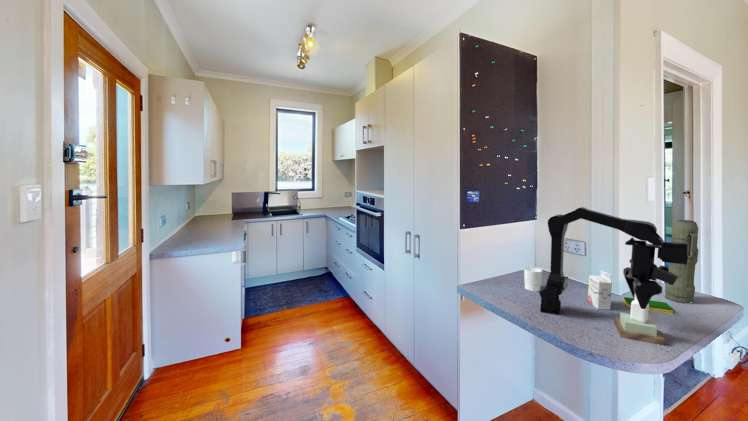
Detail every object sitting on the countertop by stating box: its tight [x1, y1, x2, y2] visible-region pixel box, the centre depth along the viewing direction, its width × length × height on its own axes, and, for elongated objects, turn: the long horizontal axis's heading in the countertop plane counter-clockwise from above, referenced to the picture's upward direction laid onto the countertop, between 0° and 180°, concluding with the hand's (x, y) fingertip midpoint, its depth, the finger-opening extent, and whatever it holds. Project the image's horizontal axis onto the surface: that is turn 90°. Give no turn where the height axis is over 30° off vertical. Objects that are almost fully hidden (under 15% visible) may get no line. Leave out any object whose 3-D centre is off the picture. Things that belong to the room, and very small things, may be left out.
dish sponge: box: [622, 296, 674, 314], centre depth 122 cm, size 7×14×2 cm, turn 62°
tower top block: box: [619, 312, 658, 336], centre depth 101 cm, size 8×8×3 cm
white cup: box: [523, 266, 543, 292], centre depth 143 cm, size 8×8×10 cm
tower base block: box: [613, 317, 665, 346], centre depth 101 cm, size 11×11×3 cm
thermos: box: [664, 219, 699, 304], centre depth 126 cm, size 9×12×35 cm
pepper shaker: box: [629, 294, 650, 323], centre depth 100 cm, size 4×4×10 cm
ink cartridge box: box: [587, 269, 613, 310], centre depth 123 cm, size 9×5×15 cm, turn 168°
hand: (639, 303), depth 100 cm, fingers open, 9 cm apart
